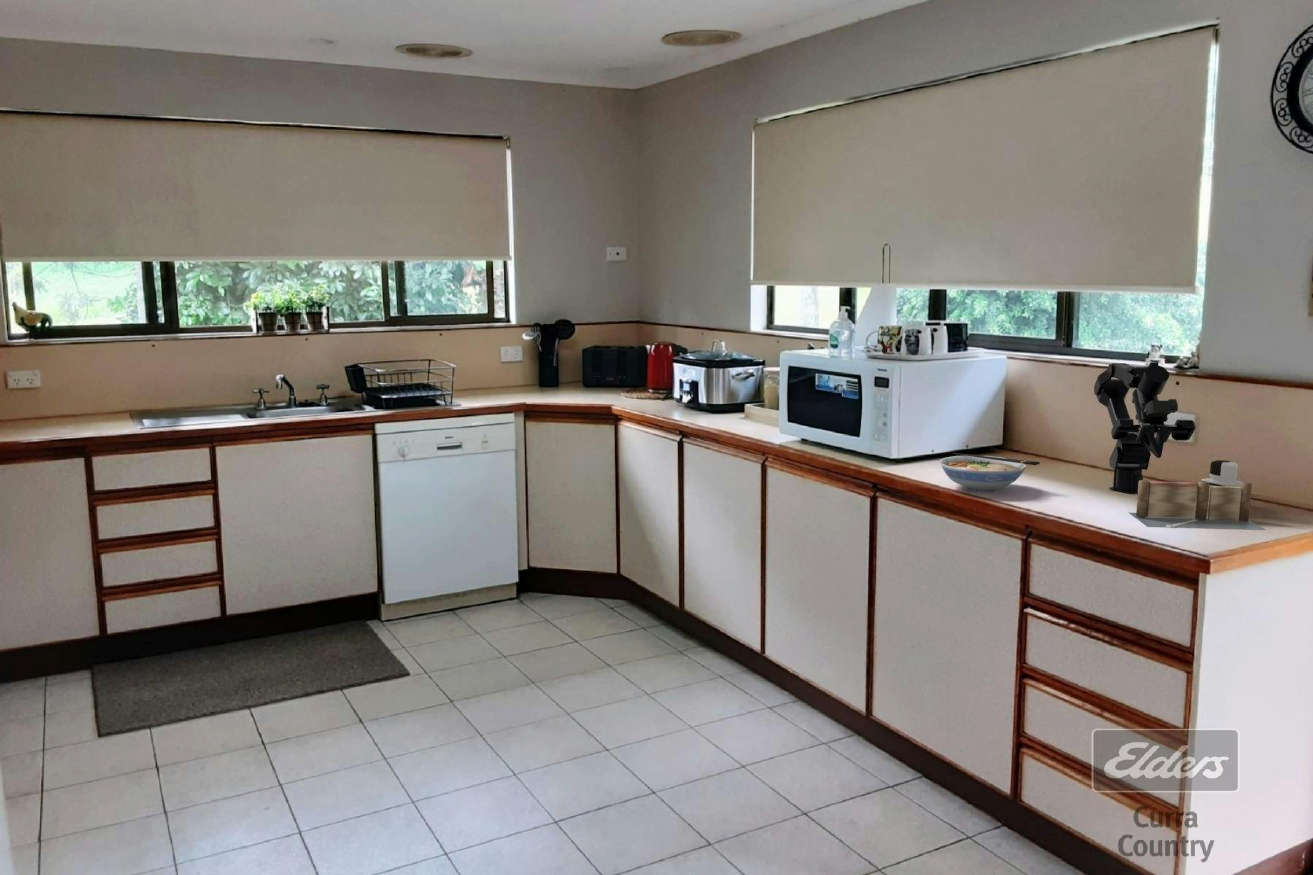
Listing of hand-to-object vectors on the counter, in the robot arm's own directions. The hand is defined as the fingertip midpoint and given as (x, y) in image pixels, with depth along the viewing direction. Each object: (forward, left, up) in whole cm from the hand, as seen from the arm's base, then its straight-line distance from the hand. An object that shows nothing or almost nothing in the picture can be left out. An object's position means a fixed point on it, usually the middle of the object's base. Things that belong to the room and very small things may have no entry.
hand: (1159, 457), depth 255 cm
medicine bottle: (+7, +16, -14) cm, 22 cm away
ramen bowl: (-40, -18, -14) cm, 46 cm away
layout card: (+13, -4, -13) cm, 19 cm away
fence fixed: (+15, +3, -13) cm, 20 cm away
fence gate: (+7, -7, -13) cm, 16 cm away
